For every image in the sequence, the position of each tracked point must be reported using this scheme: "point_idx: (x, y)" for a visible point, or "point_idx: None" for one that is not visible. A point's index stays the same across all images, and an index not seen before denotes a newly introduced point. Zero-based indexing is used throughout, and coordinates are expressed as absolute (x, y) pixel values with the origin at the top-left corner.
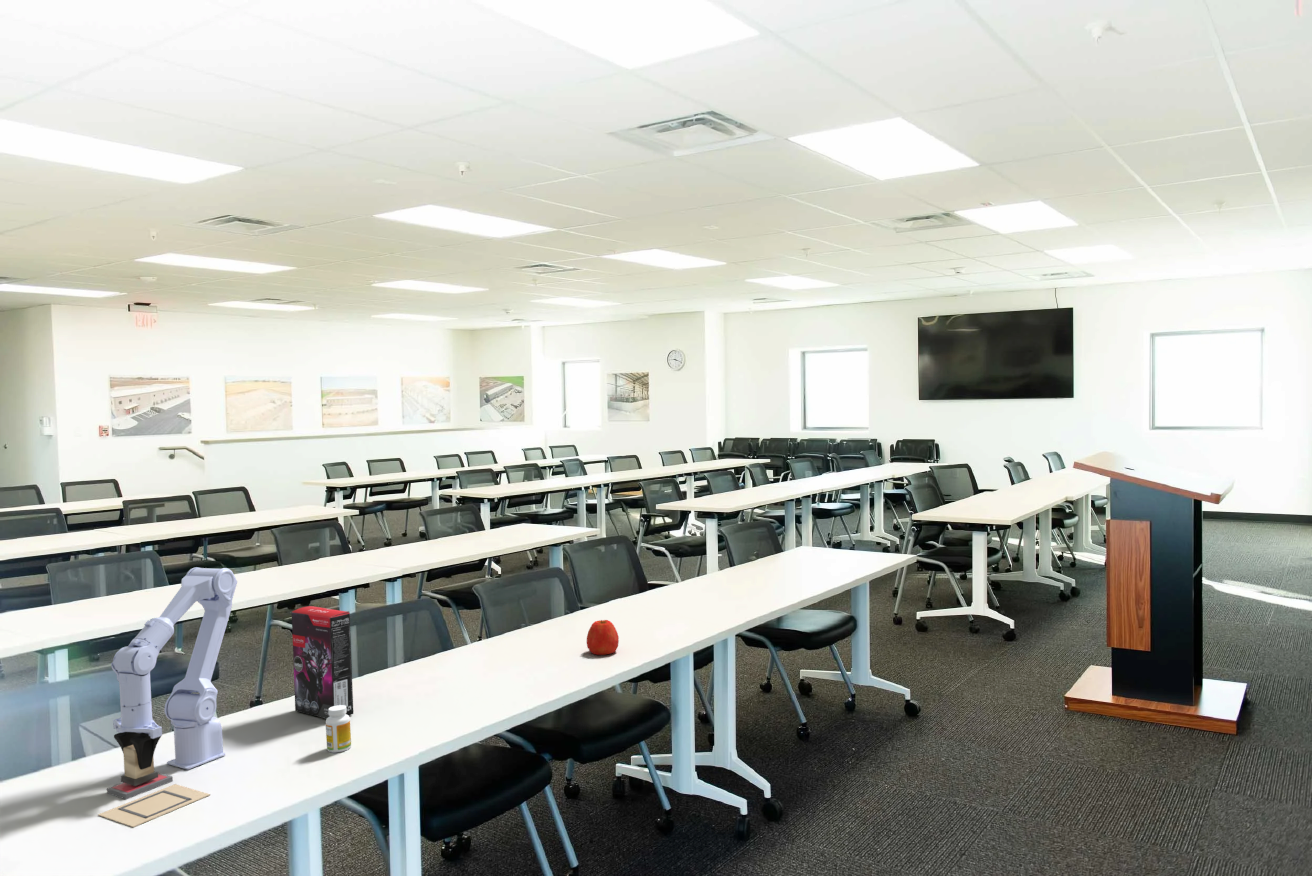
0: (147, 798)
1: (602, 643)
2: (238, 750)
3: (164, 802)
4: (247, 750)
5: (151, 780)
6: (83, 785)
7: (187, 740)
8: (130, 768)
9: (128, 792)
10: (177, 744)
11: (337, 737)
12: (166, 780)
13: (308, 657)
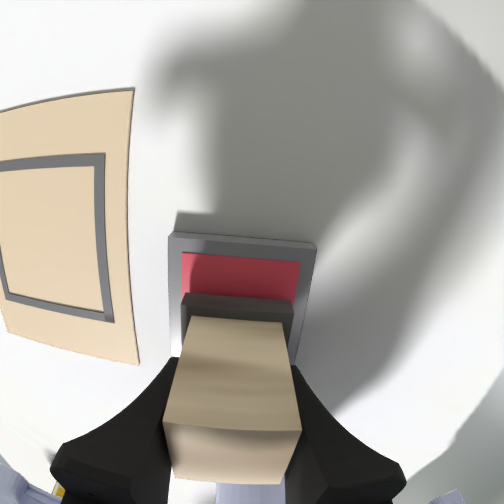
0: (98, 260)
1: None
2: None
3: (32, 258)
4: (199, 490)
5: None
6: (448, 257)
7: (232, 502)
8: (228, 346)
9: (178, 254)
10: (268, 487)
11: (53, 492)
12: None
13: None
